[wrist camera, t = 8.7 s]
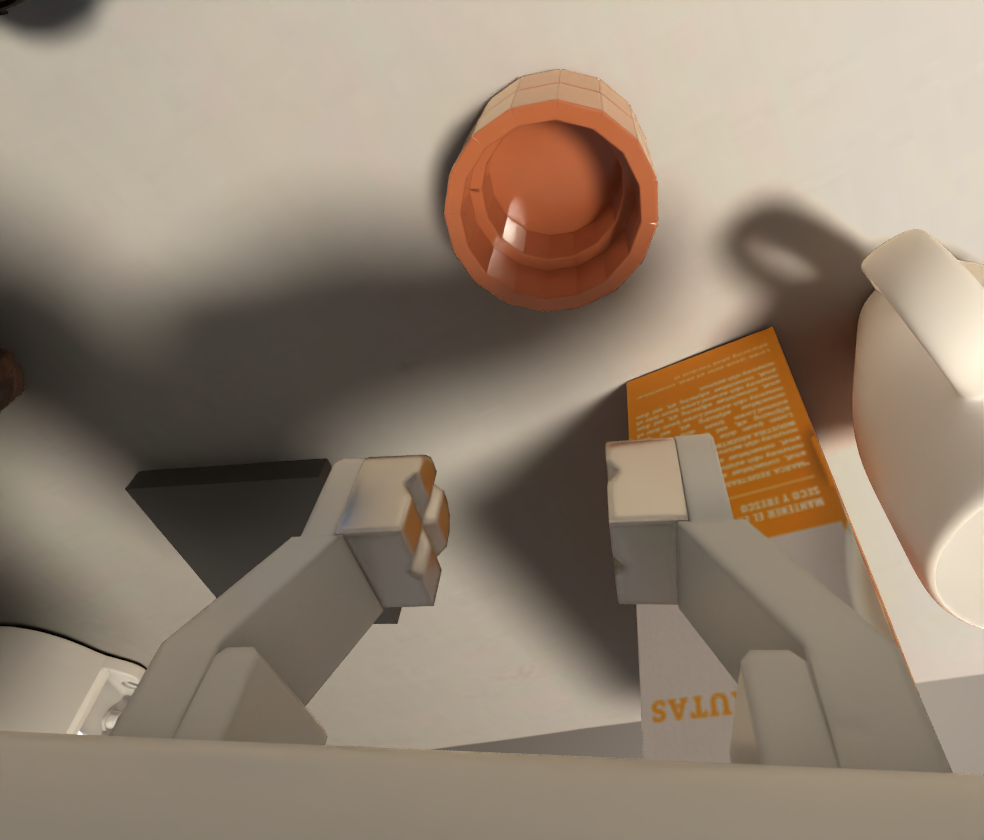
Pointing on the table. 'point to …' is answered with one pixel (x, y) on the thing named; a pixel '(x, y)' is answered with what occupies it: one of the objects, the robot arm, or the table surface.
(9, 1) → the ornament
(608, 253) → the terracotta cup
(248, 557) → the scale
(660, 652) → the cereal box
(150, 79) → the table surface
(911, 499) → the mug
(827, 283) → the table surface
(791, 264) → the table surface
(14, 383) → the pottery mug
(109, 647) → the table surface
